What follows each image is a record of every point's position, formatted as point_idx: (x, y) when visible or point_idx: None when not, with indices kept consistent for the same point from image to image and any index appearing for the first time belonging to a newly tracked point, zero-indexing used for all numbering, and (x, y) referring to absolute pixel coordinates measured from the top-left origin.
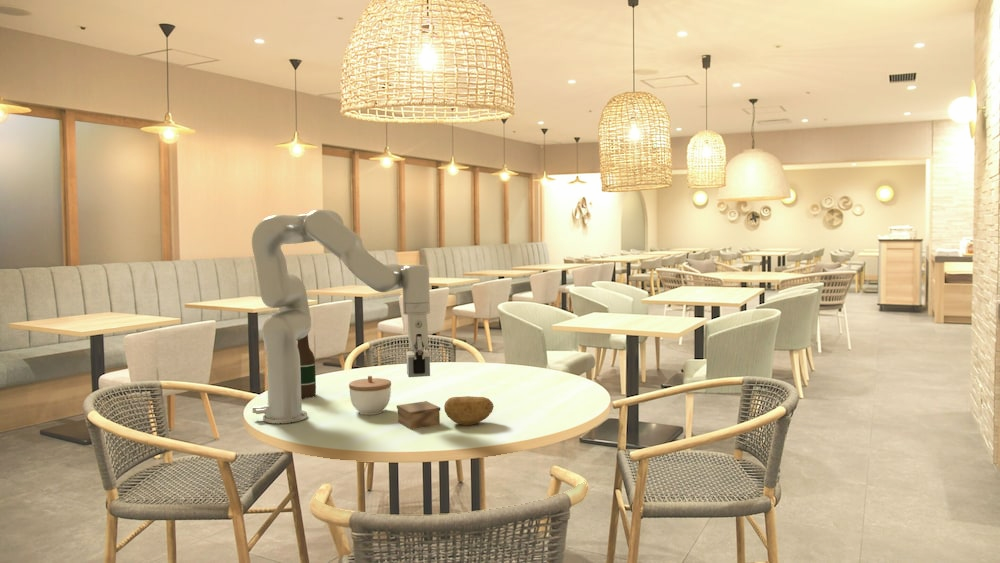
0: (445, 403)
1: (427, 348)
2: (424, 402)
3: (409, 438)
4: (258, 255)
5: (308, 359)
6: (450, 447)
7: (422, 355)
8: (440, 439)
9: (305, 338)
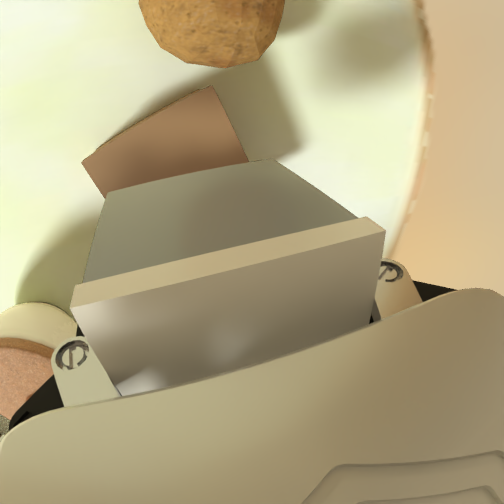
0: (233, 61)
1: (472, 291)
2: (106, 166)
3: (332, 179)
4: None
5: None
6: (413, 85)
7: (445, 287)
8: (357, 97)
9: None
